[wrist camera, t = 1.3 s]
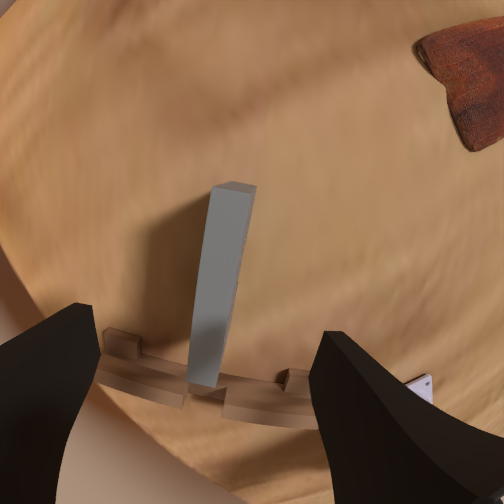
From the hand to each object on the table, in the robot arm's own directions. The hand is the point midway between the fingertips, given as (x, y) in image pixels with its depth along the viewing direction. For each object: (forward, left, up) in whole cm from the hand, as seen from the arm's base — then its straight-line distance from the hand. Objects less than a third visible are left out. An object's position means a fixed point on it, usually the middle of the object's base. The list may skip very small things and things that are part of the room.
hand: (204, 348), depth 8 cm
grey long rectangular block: (0, +1, -11) cm, 11 cm away
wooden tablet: (+7, -31, -12) cm, 34 cm away
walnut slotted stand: (-9, +7, -11) cm, 16 cm away
